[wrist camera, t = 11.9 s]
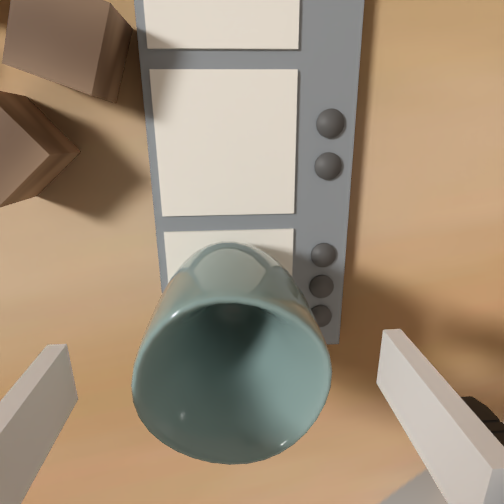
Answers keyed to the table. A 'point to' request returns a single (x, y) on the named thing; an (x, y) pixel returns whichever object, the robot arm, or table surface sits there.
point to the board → (254, 132)
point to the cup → (231, 358)
